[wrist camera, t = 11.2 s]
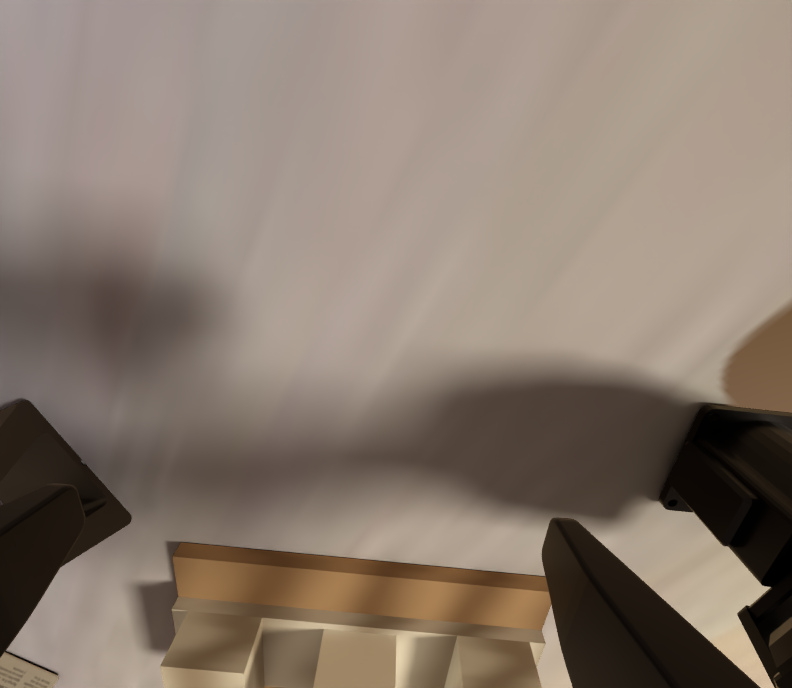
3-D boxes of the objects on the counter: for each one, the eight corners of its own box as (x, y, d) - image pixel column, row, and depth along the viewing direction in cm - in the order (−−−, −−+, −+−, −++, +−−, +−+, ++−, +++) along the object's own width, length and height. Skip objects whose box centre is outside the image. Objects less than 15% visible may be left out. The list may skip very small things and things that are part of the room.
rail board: (549, 577, 25) (580, 662, 21) (504, 706, 31) (520, 795, 26) (181, 542, 25) (132, 622, 20) (199, 679, 30) (164, 765, 26)
